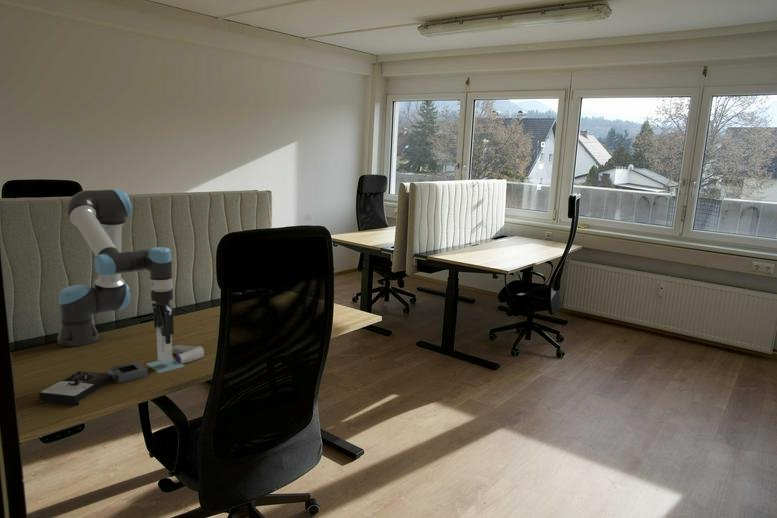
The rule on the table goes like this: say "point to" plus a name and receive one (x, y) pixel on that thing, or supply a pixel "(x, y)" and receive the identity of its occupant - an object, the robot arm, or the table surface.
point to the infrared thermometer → (187, 353)
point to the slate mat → (165, 365)
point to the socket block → (128, 372)
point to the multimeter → (74, 388)
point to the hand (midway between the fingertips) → (164, 349)
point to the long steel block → (161, 354)
